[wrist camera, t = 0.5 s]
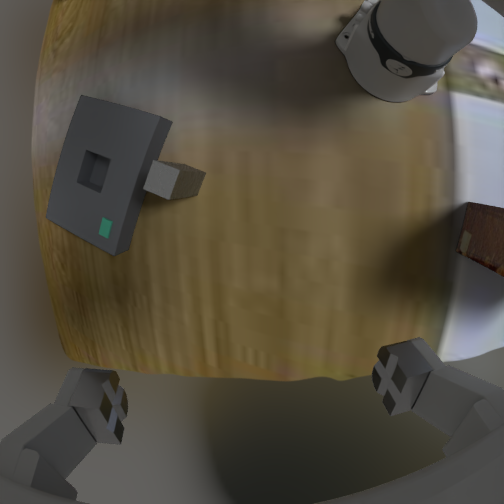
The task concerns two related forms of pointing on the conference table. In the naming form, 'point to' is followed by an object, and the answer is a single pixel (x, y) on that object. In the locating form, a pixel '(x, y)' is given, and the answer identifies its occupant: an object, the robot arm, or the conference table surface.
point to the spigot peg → (173, 180)
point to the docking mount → (105, 172)
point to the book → (483, 236)
